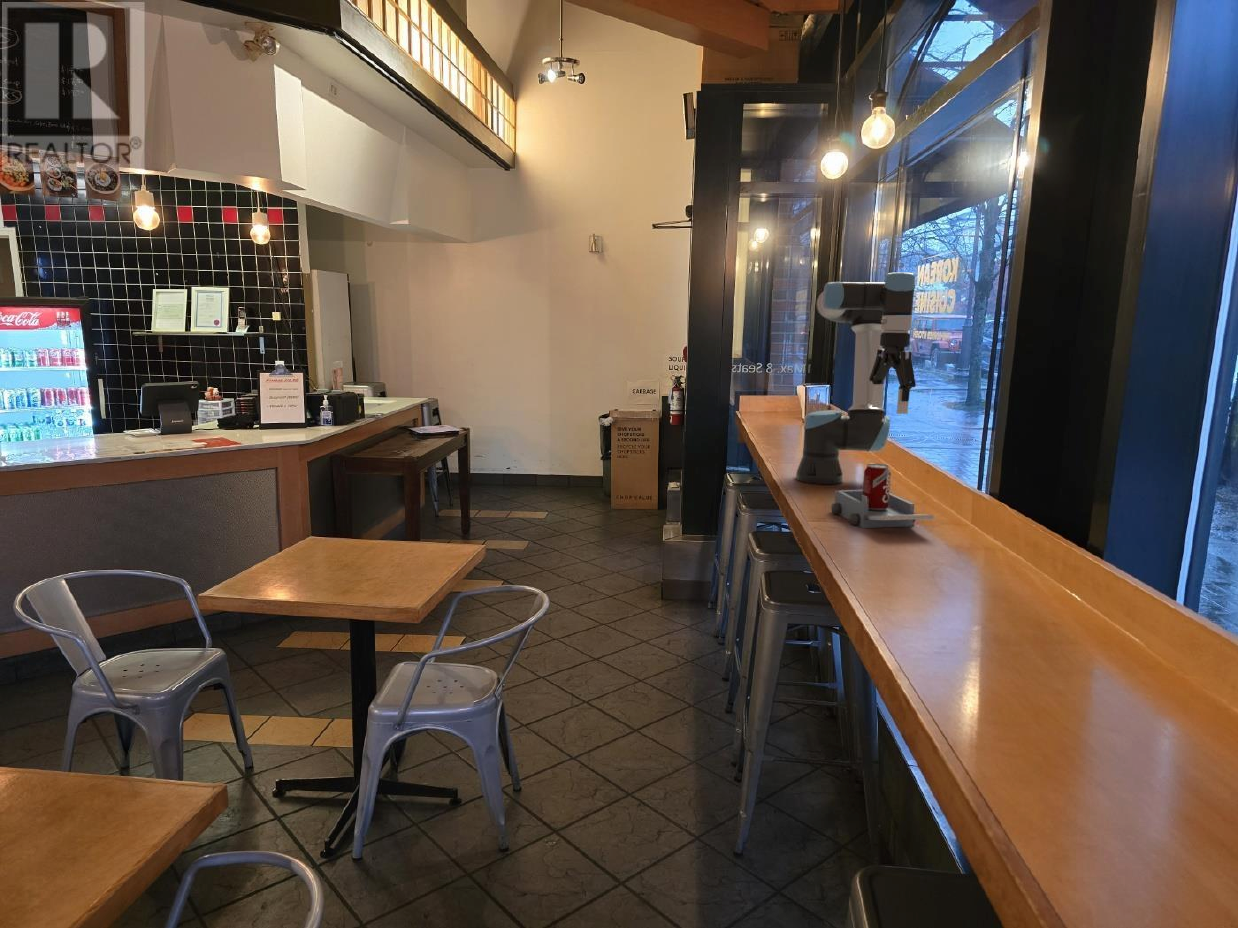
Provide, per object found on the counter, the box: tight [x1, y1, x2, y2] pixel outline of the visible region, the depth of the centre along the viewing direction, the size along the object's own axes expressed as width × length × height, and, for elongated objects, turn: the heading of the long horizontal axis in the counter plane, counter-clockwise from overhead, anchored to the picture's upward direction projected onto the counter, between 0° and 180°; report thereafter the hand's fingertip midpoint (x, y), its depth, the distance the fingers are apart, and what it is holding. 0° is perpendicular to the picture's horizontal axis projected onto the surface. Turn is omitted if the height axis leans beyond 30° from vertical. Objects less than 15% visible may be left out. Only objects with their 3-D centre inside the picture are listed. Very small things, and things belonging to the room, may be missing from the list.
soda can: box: [862, 462, 892, 511], centre depth 198 cm, size 7×7×12 cm
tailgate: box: [865, 513, 935, 520], centre depth 188 cm, size 1×14×10 cm
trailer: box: [830, 489, 916, 529], centre depth 201 cm, size 17×17×6 cm
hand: (889, 410), depth 203 cm, fingers open, 13 cm apart
